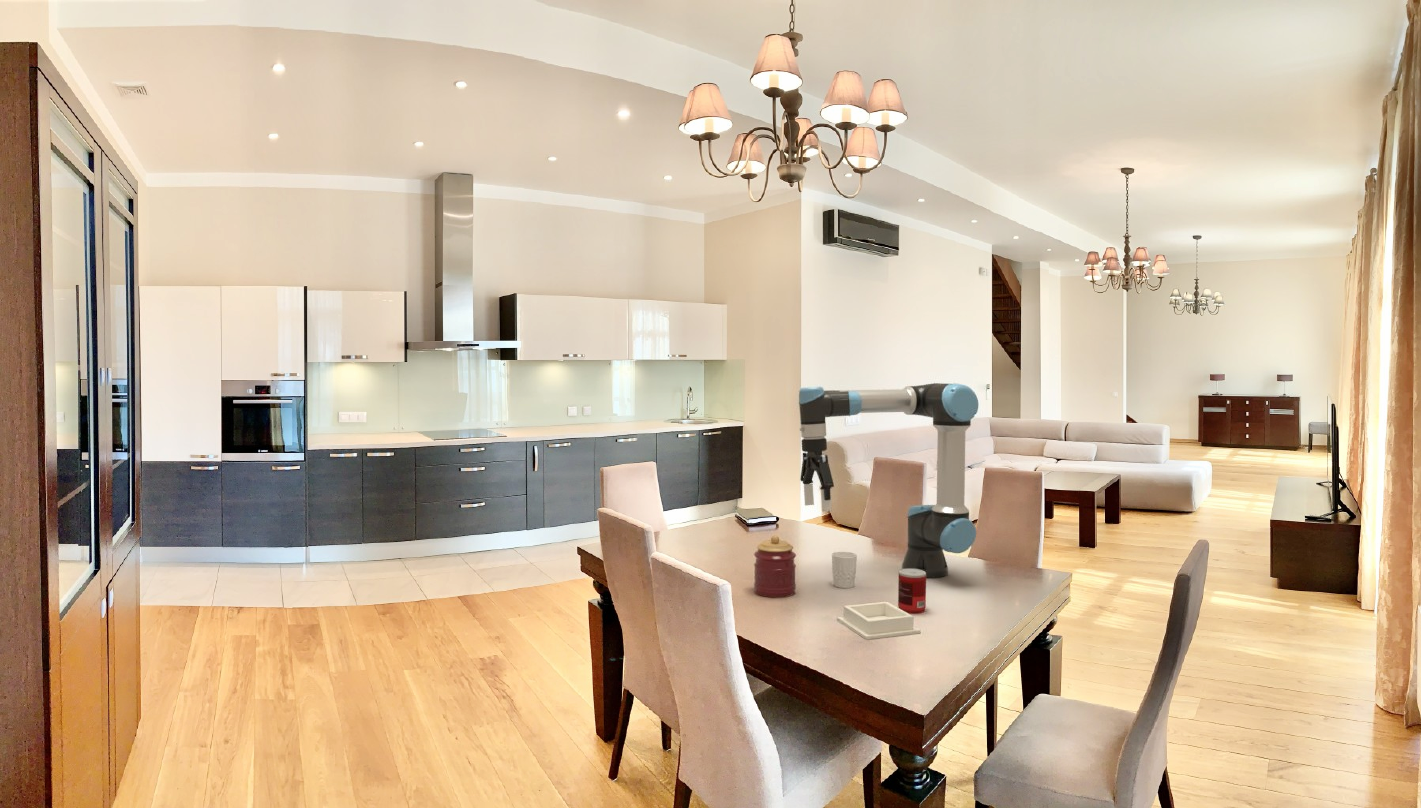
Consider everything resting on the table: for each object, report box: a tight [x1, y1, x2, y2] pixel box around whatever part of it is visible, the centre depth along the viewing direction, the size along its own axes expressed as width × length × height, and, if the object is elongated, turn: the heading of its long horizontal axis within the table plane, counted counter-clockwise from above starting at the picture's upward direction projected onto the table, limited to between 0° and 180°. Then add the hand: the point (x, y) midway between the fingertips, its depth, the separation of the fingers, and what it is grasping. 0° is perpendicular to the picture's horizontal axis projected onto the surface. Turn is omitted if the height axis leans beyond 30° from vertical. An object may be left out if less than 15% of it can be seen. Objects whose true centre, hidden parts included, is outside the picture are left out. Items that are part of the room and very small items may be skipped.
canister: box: [753, 535, 797, 598], centre depth 236 cm, size 13×13×18 cm
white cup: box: [831, 551, 858, 589], centre depth 244 cm, size 8×8×10 cm
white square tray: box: [836, 601, 921, 640], centre depth 205 cm, size 16×16×4 cm
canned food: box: [897, 568, 927, 615], centre depth 219 cm, size 8×8×11 cm
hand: (817, 507), depth 230 cm, fingers open, 13 cm apart
